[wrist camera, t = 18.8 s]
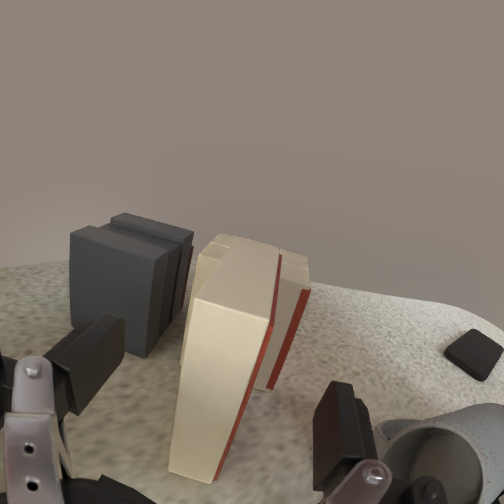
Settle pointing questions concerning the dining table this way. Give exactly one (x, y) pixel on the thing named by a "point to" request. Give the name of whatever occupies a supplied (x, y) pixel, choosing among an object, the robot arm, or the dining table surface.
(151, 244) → the grey books
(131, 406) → the dining table surface
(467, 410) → the ceramic mug
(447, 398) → the dining table surface
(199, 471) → the thin ivory book
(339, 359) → the dining table surface
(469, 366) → the phone
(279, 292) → the ivory books
